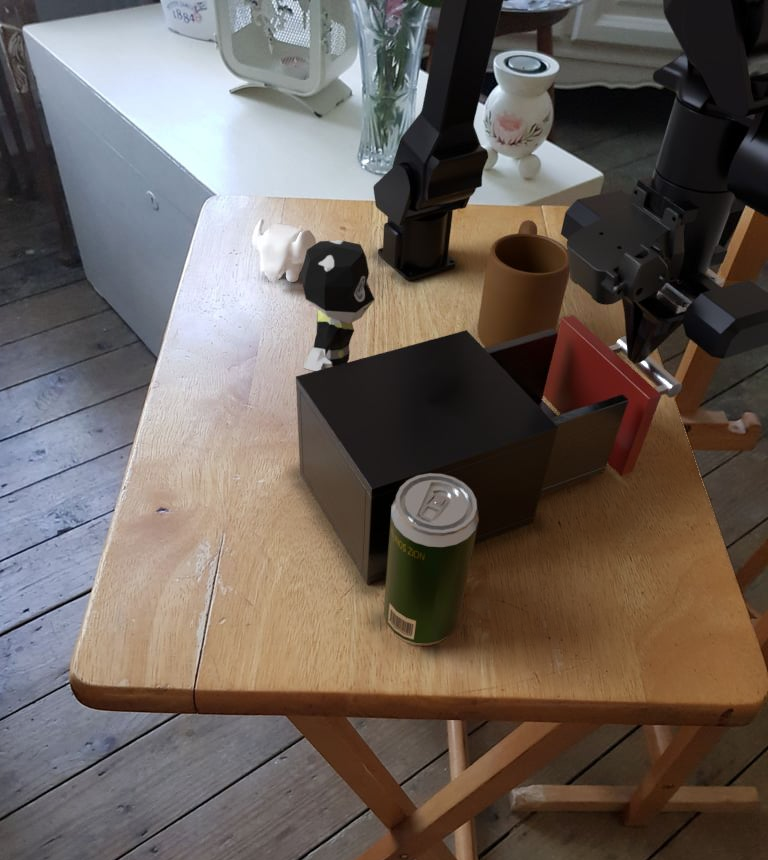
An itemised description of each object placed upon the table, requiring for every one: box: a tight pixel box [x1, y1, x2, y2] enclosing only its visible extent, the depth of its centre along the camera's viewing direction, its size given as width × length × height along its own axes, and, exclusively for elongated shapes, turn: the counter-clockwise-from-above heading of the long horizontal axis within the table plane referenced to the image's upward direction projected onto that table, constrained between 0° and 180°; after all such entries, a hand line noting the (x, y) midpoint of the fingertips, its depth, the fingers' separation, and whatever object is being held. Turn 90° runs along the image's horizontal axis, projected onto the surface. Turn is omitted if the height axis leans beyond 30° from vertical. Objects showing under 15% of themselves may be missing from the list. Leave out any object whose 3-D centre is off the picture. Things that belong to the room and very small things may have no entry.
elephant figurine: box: [251, 218, 317, 284], centre depth 85 cm, size 7×8×6 cm
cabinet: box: [295, 329, 558, 586], centre depth 62 cm, size 15×13×10 cm
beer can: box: [383, 473, 479, 647], centre depth 53 cm, size 5×5×12 cm
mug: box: [477, 219, 570, 348], centre depth 79 cm, size 12×8×9 cm, turn 173°
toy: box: [300, 239, 375, 372], centre depth 68 cm, size 13×6×15 cm, turn 168°
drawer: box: [483, 314, 683, 497], centre depth 66 cm, size 18×11×8 cm, turn 117°
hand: (635, 360), depth 67 cm, fingers closed
